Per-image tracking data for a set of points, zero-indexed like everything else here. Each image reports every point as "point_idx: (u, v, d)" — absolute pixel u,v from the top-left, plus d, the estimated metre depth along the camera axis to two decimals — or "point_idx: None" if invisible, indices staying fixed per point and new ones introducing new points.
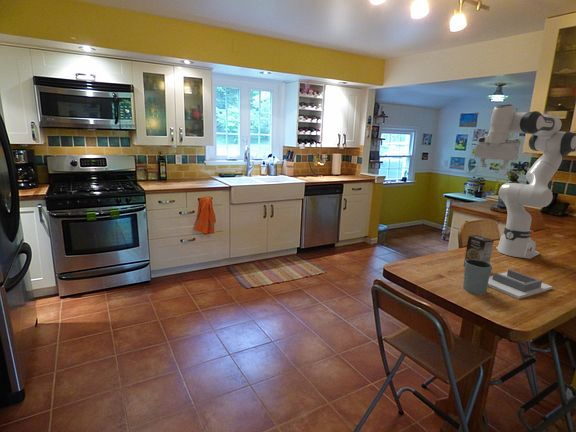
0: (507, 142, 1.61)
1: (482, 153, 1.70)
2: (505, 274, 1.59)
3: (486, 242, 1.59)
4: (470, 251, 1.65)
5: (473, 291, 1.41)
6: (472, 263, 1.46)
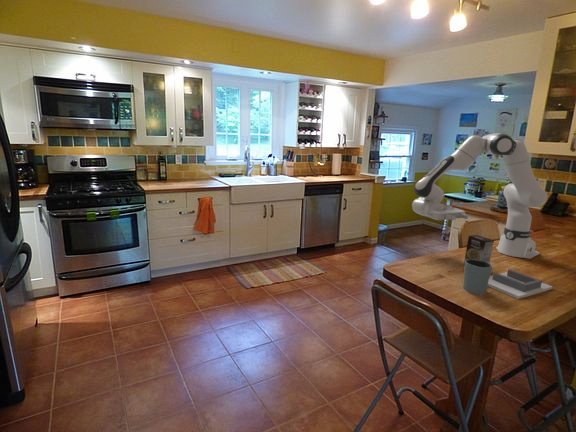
0: None
1: None
2: (505, 274, 1.59)
3: (486, 242, 1.59)
4: (471, 251, 1.65)
5: (473, 291, 1.41)
6: (472, 263, 1.46)
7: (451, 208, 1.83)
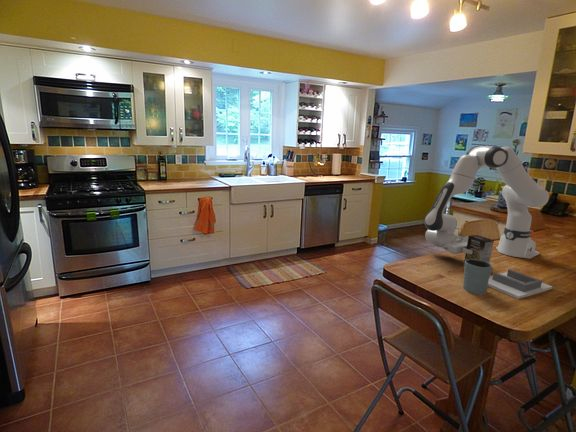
0: None
1: None
2: (505, 274, 1.59)
3: (486, 242, 1.59)
4: None
5: (473, 291, 1.41)
6: (472, 263, 1.46)
7: (467, 239, 1.76)
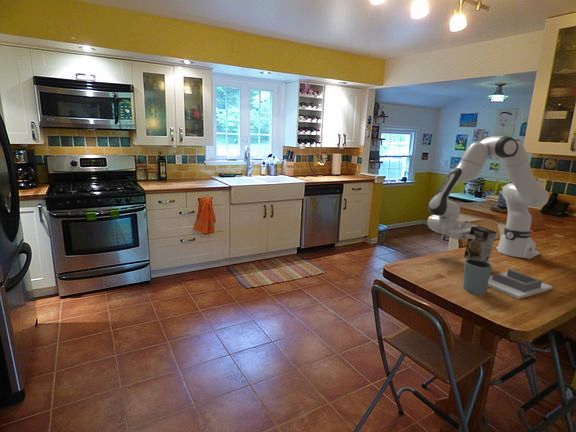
0: None
1: None
2: (505, 274, 1.59)
3: (489, 233, 1.58)
4: (472, 242, 1.64)
5: (473, 291, 1.41)
6: (472, 263, 1.46)
7: (469, 225, 1.75)
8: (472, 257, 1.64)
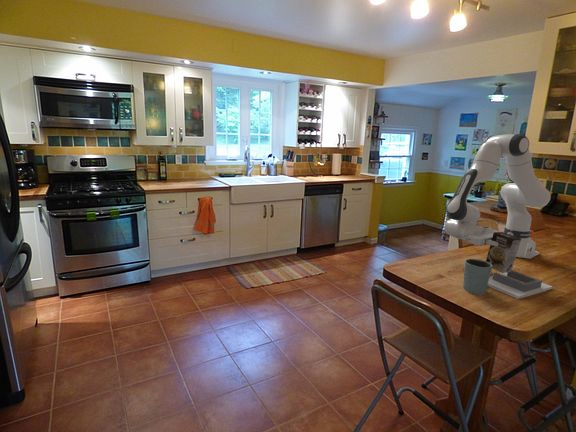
0: None
1: None
2: (505, 274, 1.59)
3: (514, 240, 1.47)
4: (495, 249, 1.53)
5: (473, 291, 1.41)
6: (472, 263, 1.46)
7: (490, 231, 1.64)
8: (494, 265, 1.54)
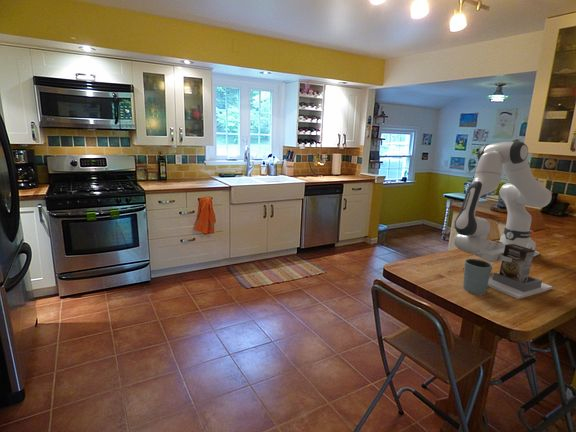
0: None
1: None
2: None
3: (527, 252, 1.42)
4: (508, 262, 1.48)
5: (473, 291, 1.41)
6: (472, 263, 1.46)
7: (503, 245, 1.59)
8: None
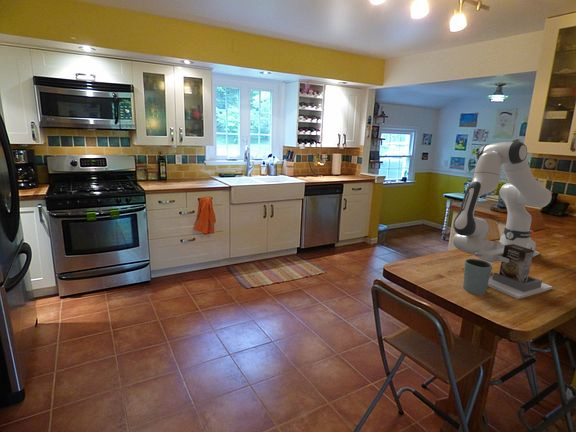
0: None
1: None
2: None
3: (527, 253, 1.42)
4: (507, 263, 1.48)
5: (473, 291, 1.41)
6: (472, 263, 1.46)
7: (501, 245, 1.60)
8: None
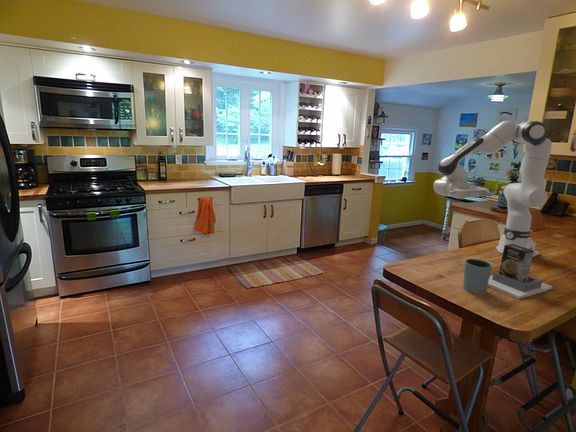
0: None
1: None
2: None
3: (526, 253, 1.42)
4: (507, 263, 1.48)
5: (473, 291, 1.41)
6: (472, 263, 1.46)
7: (474, 186, 1.80)
8: None
